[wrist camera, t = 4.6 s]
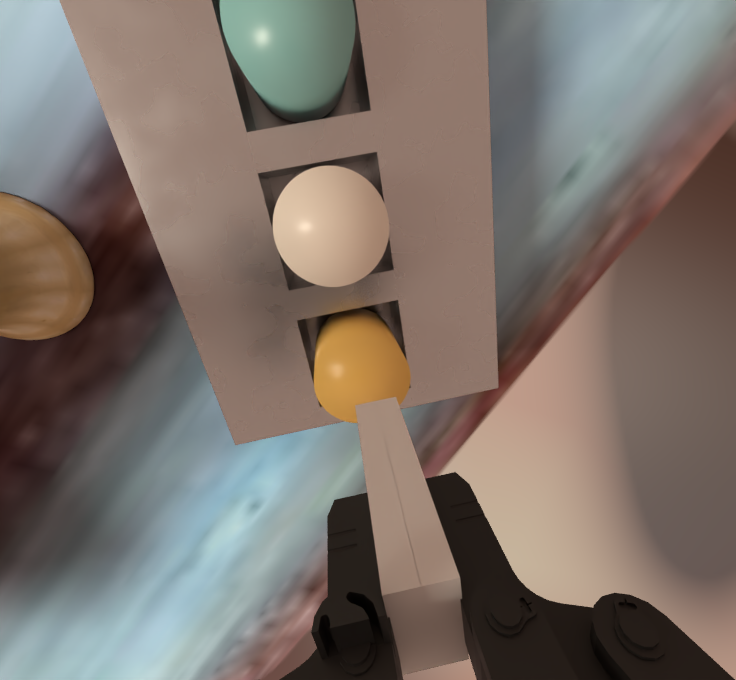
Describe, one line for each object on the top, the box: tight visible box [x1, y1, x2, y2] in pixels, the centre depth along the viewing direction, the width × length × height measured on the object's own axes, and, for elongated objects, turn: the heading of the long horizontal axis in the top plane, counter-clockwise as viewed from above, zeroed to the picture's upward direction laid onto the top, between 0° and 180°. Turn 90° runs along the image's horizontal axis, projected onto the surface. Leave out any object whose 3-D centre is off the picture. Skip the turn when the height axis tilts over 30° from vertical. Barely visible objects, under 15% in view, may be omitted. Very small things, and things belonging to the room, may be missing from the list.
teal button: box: [220, 0, 355, 123], centre depth 14 cm, size 5×5×4 cm
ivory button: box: [273, 166, 389, 287], centre depth 16 cm, size 5×5×4 cm
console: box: [60, 0, 498, 445], centre depth 19 cm, size 16×22×4 cm
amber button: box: [314, 308, 411, 423], centre depth 19 cm, size 5×5×4 cm
